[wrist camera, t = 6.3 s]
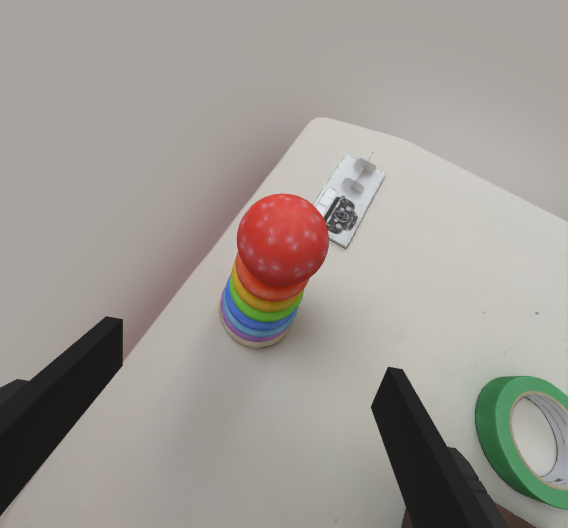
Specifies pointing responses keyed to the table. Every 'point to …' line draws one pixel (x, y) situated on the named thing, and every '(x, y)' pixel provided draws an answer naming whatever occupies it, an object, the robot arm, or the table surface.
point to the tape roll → (501, 444)
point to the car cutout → (347, 197)
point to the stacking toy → (272, 268)
